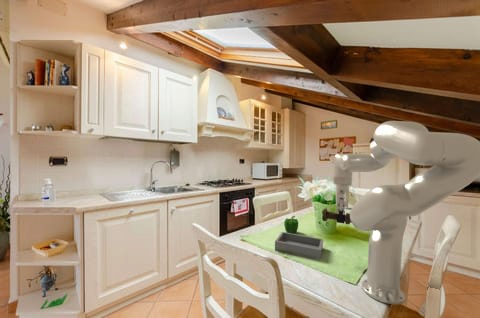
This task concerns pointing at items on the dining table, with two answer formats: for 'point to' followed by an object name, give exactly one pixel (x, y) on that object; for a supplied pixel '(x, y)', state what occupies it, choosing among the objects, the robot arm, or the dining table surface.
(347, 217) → the bolt
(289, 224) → the bell pepper
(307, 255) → the tray
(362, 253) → the dining table surface
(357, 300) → the dining table surface
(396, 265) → the robot arm
